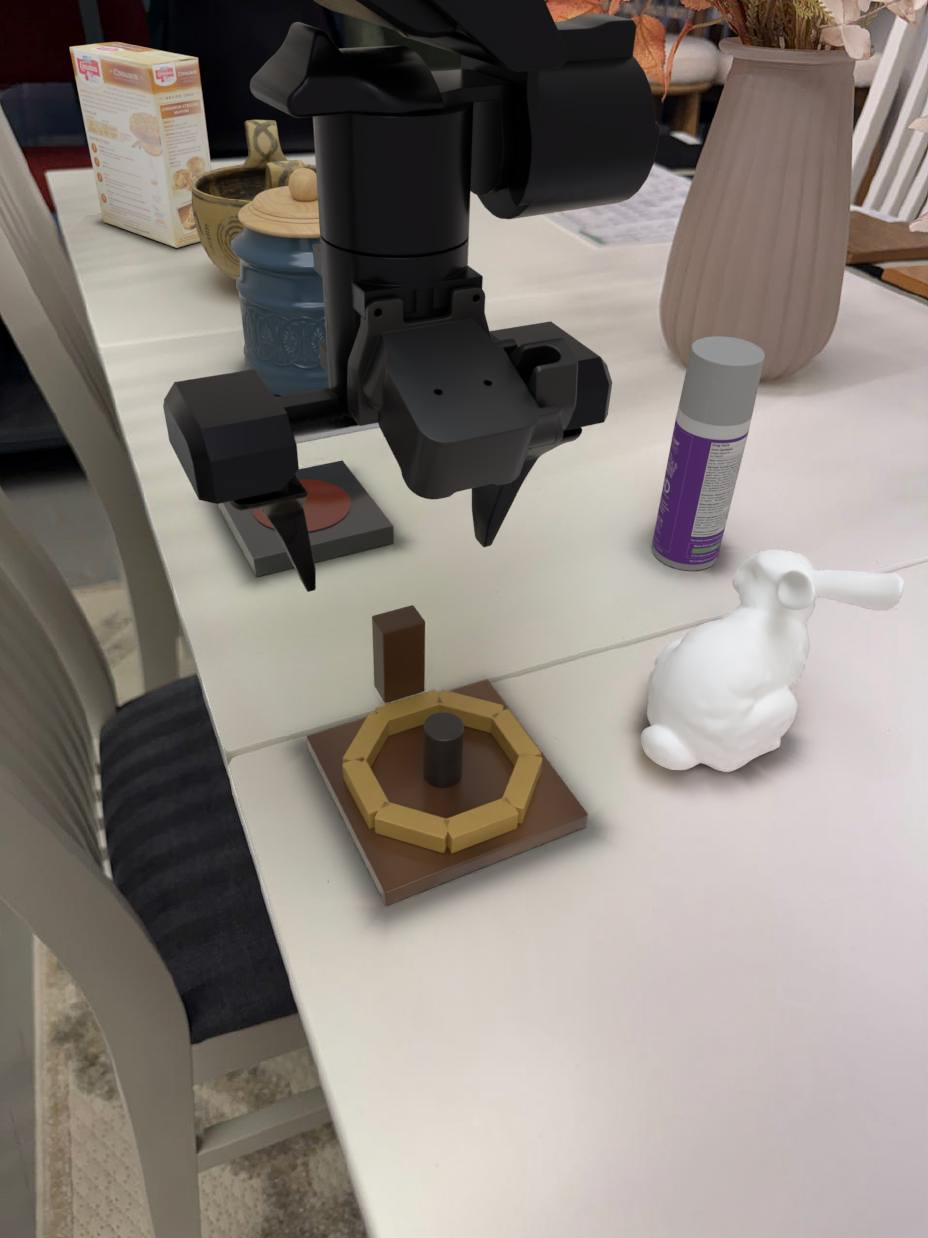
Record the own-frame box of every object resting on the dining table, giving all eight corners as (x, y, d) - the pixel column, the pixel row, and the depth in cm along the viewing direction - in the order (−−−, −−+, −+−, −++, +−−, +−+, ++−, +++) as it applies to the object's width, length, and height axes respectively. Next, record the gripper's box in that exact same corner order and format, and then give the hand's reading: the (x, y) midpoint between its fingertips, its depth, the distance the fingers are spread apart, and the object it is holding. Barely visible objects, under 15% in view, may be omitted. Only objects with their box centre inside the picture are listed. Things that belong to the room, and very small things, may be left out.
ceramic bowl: (377, 316, 100) (373, 161, 90) (212, 329, 96) (190, 168, 86) (339, 248, 116) (332, 111, 107) (196, 256, 112) (176, 115, 103)
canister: (251, 344, 93) (229, 148, 82) (384, 343, 94) (380, 149, 83) (240, 404, 83) (214, 189, 72) (389, 402, 84) (385, 191, 73)
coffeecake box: (222, 236, 118) (200, 56, 106) (175, 249, 114) (147, 63, 101) (147, 210, 125) (119, 39, 113) (101, 222, 121) (65, 45, 109)
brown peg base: (385, 906, 44) (383, 845, 41) (307, 748, 52) (301, 687, 49) (586, 827, 48) (597, 766, 45) (486, 691, 56) (490, 631, 53)
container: (638, 540, 68) (674, 340, 59) (693, 528, 70) (736, 331, 61) (674, 576, 65) (718, 370, 56) (731, 562, 67) (783, 360, 57)
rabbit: (721, 650, 59) (766, 484, 52) (859, 732, 54) (932, 560, 46) (595, 745, 53) (626, 569, 45) (738, 848, 47) (800, 669, 40)
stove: (256, 577, 63) (253, 557, 62) (216, 503, 70) (213, 485, 69) (393, 543, 67) (393, 524, 66) (343, 476, 74) (342, 458, 73)
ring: (393, 876, 44) (391, 788, 40) (313, 720, 52) (304, 633, 48) (569, 809, 48) (583, 721, 44) (469, 672, 55) (474, 587, 51)
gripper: (205, 349, 28) (260, 729, 37) (720, 271, 34) (652, 610, 44) (129, 235, 35) (191, 575, 45) (562, 190, 42) (534, 494, 52)
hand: (398, 563), depth 46 cm, fingers open, 9 cm apart
